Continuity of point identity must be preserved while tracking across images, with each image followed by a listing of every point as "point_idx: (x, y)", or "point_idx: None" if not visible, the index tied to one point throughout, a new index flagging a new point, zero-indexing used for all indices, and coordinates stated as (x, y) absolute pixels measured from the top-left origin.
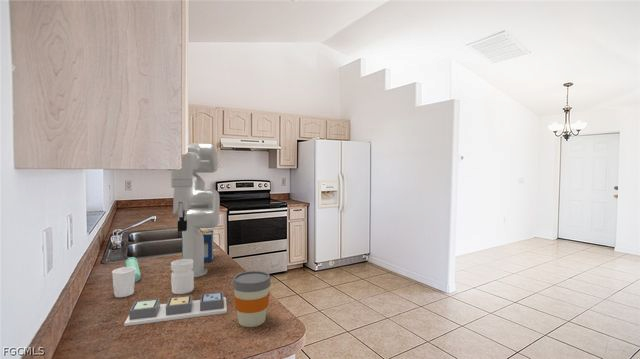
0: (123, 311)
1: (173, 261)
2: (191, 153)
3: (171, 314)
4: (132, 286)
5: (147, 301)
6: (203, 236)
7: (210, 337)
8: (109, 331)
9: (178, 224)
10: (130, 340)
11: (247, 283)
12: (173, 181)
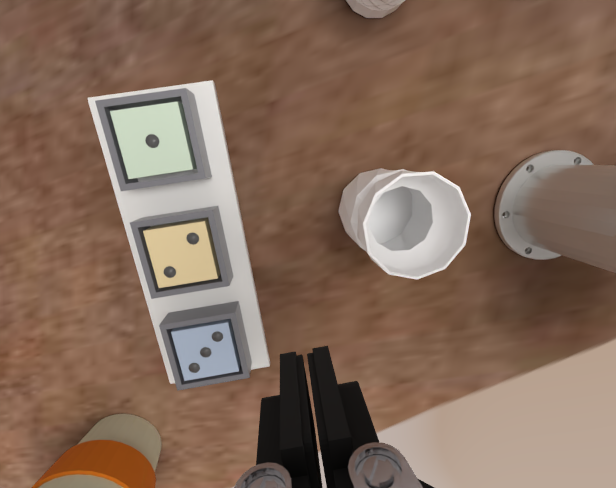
0: (206, 48)
1: (437, 177)
2: None
3: None
4: (372, 5)
5: (180, 139)
6: None
7: (30, 362)
8: (57, 64)
9: (280, 417)
10: (4, 156)
11: None
12: None
